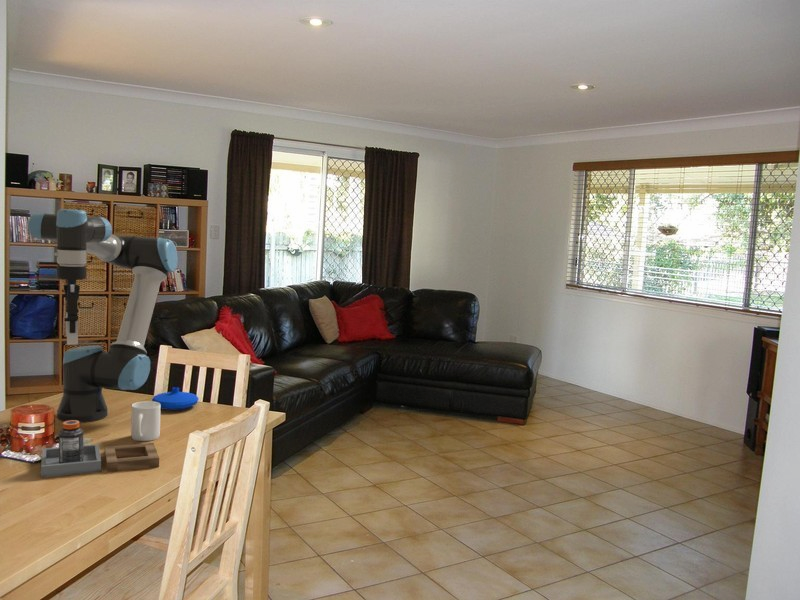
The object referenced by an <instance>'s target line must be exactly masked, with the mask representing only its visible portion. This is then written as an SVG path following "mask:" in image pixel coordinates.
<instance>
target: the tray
mask: <svg viewBox="0 0 800 600" xmlns="http://www.w3.org/2000/svg"><path fill="white" fill-rule="evenodd" d="M83 452H84V460H83V461H82V462H71V463H61V464H59V446H58V447H46V448H42V449H41V461H40V464H41V465H40V478H41V479H43V478H54V477H65V476H75V475H84V474H85V475H86V474H94V473H102V457H101V453H100V452H101V451H100V444H99V443H96V444H83Z"/></svg>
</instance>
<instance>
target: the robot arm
mask: <svg viewBox="0 0 800 600" xmlns="http://www.w3.org/2000/svg"><path fill="white" fill-rule="evenodd" d="M27 223H28V225H27V228H28V229H27V230H28V234H29V235H30V236H31V237H32V238H34V239H38V240H39V239H40V240H41V241H43V240H48V241H52V242H55V243H56V252H54V254H53V255H54V256H55V257H56V263H57V264H58V265H57V266H56V278H57V279H58V280H65V284H63V293H64V299H65V302H66V303H65V311H66V312H65V317H64V322H65V336H66V346H67V345H68V346H69V345H79V307H78V303H79V300H80V292H81V291H80V287H81V286H80V284H77V281H78V280H80V281H81V280H86V279H87V267H86V264H87V263H88V261H87V260H88V258H87V257H88V255H87V254H91V255H93V256H96V258H97V259H99V260H100V261H103V262H106V263H108V264H111V265H113V266H116V267H120V268H124V269H128V270H131V271H132V274H133V275H134V279H133V282H132V286H131V288H130V293H129V297H128V300H127V303H126V307H125V311H124V314H123V317H122V321H121V325H120V327H119V328H120V329H119V331H118V335H117V338H116V341H114V342H112V343H110V344H109V345H110V346H109V349H108V351H104V349H103V346H101V345H98V344H97V345H83V346H78V347H73V348H69V349H66V351H64V354H63V361H62V372H63V373H62V374H63V375H62V377H63V378H62V379H63V380H62V385H63V386H62V387H63V388H62V389H63V391H62V396H61V399H60V401H59V402H60V403H59V405H58V408H57V410H56V417H57V419H58V420H59V421H62V422H65V421H70V420H77V421H79V423H87V422H94V421H99V420H102V419H104V418H106V417H108V414H109V413H108V405H107V403H106V399H105V397H104V394H103V389H104V388H106V389H116V390H122V391H126V390H129V391H130V390H131V391H134V390H138V389H140V388H141V387H142V386H143V385H144V384H145V383H146V382H147V380H148V378H149V374H150V372H151V359H150V357H149V356H147V354H148V352H147V350H146V348H145V344H146V343H145V342H146V339H147V336H148V332H149V328H150V324H151V320H152V317H153V313H154V309H155V305H156V302H157V297H158V295H159V290H160V288H161V287H160V286H161V284H162V282H164V281H166V280H167V279H168V274H171V273H174V272H175V271H176V269H177V268H178V261H179V258H178V257H179V256H178V251H177V247H176V245H175V243H174V241H172V240H171V239H169V238H163V237H150V236H149V237H147V236H135V235H116V234H113V233H112V232H113V227H112V224H111V223H110V221H109V220H108V219H106V218H105V217H102V216H95V215H94V216H87V212H86V210H84V209H71V208H70V209H69V208H68V209H65V208H61V209H58V210H57V212H56V214H53V213H52V214H51V213H46V212H44V213H34V214H32V215H31V216H30V218H29V220H28V222H27Z"/></svg>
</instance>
